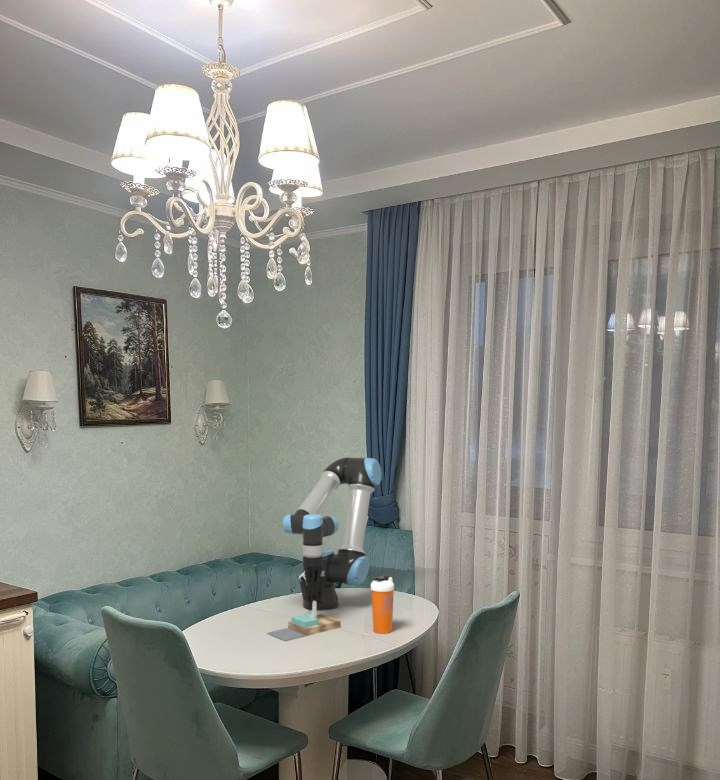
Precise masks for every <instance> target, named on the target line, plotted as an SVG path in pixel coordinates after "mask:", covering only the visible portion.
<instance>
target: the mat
mask: <svg viewBox="0 0 720 780" xmlns="http://www.w3.org/2000/svg"><path fill="white" fill-rule="evenodd" d="M266 635H269V636H271V637H275V638H276V639H279V640H281V641H283V642H287V641H291V640H296V639H301V638H304V637H306V635H303V634H301V633H298V632H296V631H293V630H291V629H288V627H286V628H282V629H277V630H273V631H269V632H266Z"/></svg>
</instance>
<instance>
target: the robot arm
mask: <svg viewBox="0 0 720 780" xmlns="http://www.w3.org/2000/svg"><path fill="white" fill-rule="evenodd" d="M382 476H383V475H382V468H381V465H380V463H379V461H378V459H376V458H373V457H372V458H371V457H342V458H338V459H337V460H334V461H333V462H332V463H330V464H329V465H328V466H327V467H326V468H325V469H324V470H323V471H322V472H321V474H320V476H319V480H318V482H317V483H316V484H315V486H314V487H313V488H312V490H311V491H310V492H309V494H308V495H307V496H306V497H305V499H304V501H302V503H301V504H300V505H299V507H298V509H297V510H296V511H295V512H294V514H292V513H290V514H286V515H285V516H284V517H283V518H282V529H283V531H284V532H285V533H286V534H293V535H302V555H303V556H302V566H303V570H302V573H301V574H300V575H298V576H297V577H296V578H297V580H298V581H299V585H300V591H301V595H302V606H303V608H305V609H307V610H308V616H310V617H313V618H316V615H317V611H326V610H333V609H335V608H338V606H339V598H338V594H337V591H336V588H335V584H345V585H350V586H352V585H360V584H363V582H364V581H365V580H366V578H367V576H368V574H369V570H370V562H369V561H370V560H369V558H368V557H367V556H366V552H365V550H364V541H365V534H366V527H367V522H368V513H369V506H370V499H371V494H372V493H373V492H374V491H375V488H376V486H379V485H380V484H381V481H382ZM346 484H347V485H348V489H349V490H350V496H349V500H348V508H347V515H346V521H345V528H344V532H343V534H344V535H343V541H342V545H341V547H339V548H338V550H337V553H335V550H334V549H331V548H330V549H328V548H327V549H323V547H324V544H323V538H326V537H330V536H332V535H334V534H336V533H337V532H338V531H339V526H340V525H339V521H338V519H337V518H336V517H335V516H333V515H325V516H322V515H321V514H319V511H320V510H321V508H323V506H324V504H325V503H326V501H328V499H329V497H330V496H331V494H332V493H333V492H334V490H337V489H338V488H339V487H340V486H342V485H346Z"/></svg>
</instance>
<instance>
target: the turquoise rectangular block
mask: <svg viewBox="0 0 720 780" xmlns="http://www.w3.org/2000/svg"><path fill="white" fill-rule="evenodd" d="M290 619H291V623H294V624H296V625H299V626H302V627H304V628H307V627H311V626H315V625H318V619H316V618H313V617H310V616H309V615H307V614H300V615H296V616H292V617H291V618H290Z"/></svg>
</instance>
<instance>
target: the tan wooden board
mask: <svg viewBox="0 0 720 780" xmlns="http://www.w3.org/2000/svg"><path fill="white" fill-rule="evenodd" d="M316 619H318V625H315V626H311V627H307V628H304V627H302V626H299V625H296V624H294V623H291V621H288V622H287V628H288V629H291V630H293V631H296V632H298V633H301V634H303V635H305V637H307V636H312V635H315V634H320V633H324V632H327V631H331V630H336V629H339V628H341V626H342V625H341V624H342V623H341V622H342V621H341V620H340V619H336V618H333V617H331V616H329V615H326V614H316Z"/></svg>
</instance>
